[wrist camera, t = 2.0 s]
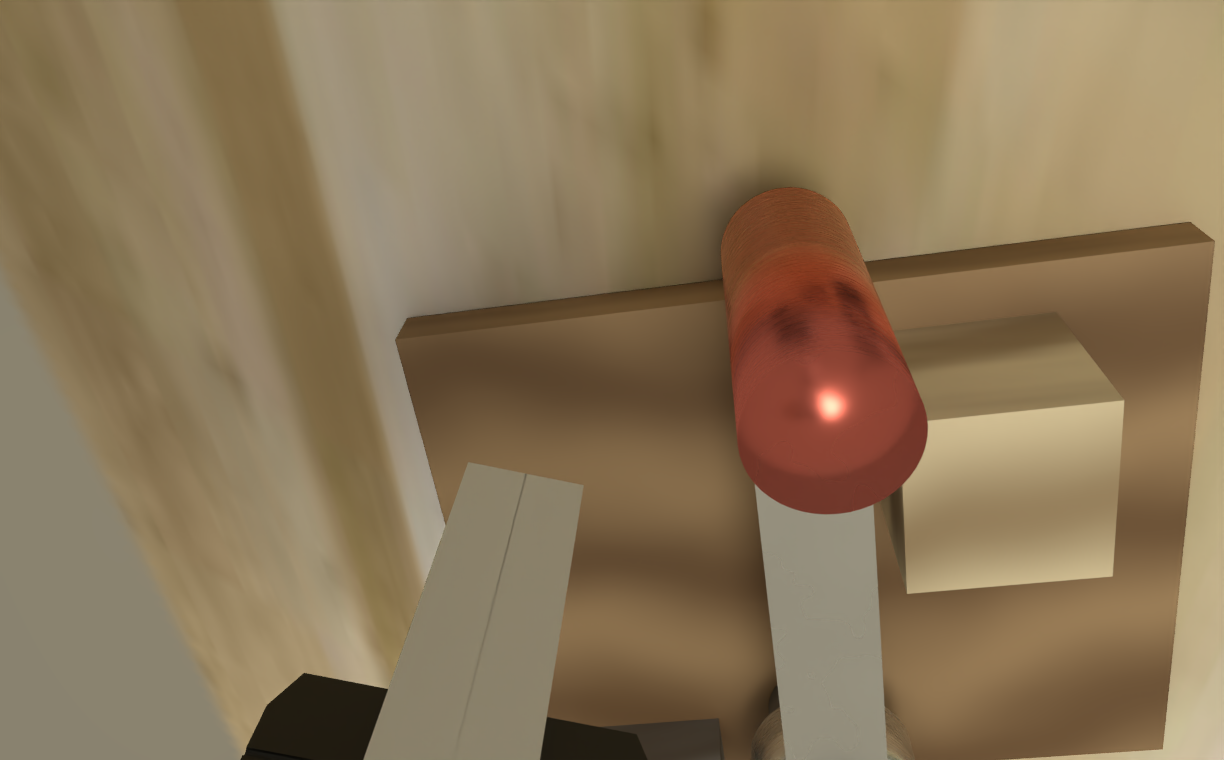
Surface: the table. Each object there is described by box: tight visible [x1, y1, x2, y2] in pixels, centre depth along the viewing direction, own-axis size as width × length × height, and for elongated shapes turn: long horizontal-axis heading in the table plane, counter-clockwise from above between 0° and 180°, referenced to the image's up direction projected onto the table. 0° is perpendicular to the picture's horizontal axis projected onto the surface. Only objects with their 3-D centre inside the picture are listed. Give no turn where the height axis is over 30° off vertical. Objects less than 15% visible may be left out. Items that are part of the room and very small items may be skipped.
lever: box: [721, 187, 928, 760], centre depth 26 cm, size 21×5×9 cm, turn 9°
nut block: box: [880, 312, 1124, 594], centre depth 28 cm, size 5×5×5 cm
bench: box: [395, 222, 1215, 760], centre depth 31 cm, size 18×22×8 cm
